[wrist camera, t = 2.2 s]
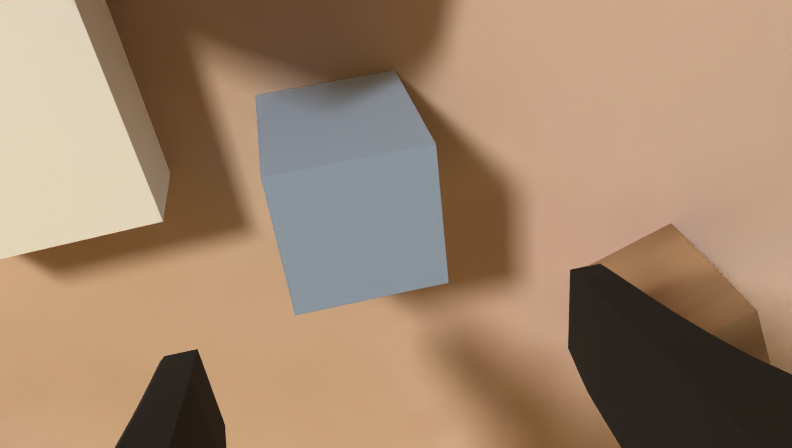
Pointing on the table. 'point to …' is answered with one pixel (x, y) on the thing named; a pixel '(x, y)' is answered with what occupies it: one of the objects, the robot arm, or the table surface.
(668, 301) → the block
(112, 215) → the foundation slab
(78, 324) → the table surface
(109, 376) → the table surface
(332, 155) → the blue block
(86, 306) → the table surface
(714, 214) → the table surface
